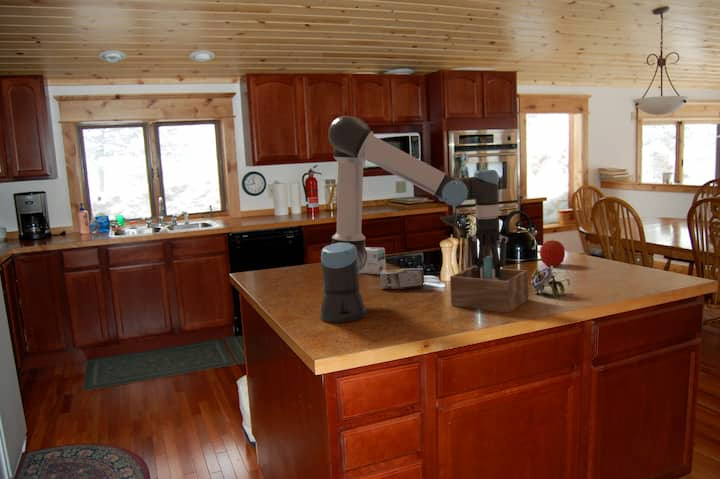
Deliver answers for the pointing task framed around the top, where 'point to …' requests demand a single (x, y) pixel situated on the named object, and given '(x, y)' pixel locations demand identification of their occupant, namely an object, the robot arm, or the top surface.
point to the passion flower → (547, 281)
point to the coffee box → (402, 278)
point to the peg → (488, 267)
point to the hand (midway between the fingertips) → (489, 286)
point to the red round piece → (552, 253)
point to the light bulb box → (374, 261)
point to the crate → (489, 290)
